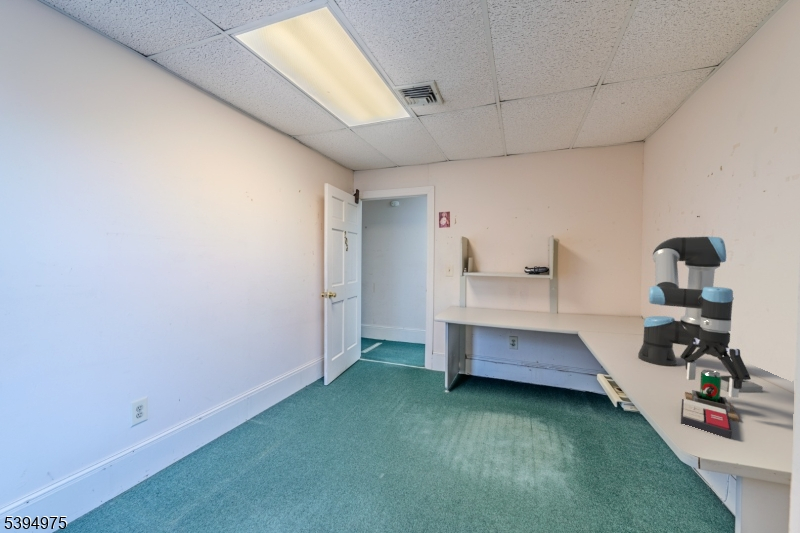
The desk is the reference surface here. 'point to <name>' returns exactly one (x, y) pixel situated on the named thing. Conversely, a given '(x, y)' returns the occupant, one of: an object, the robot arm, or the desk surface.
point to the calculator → (706, 418)
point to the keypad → (746, 385)
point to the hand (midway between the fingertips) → (710, 387)
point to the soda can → (710, 385)
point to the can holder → (714, 404)
